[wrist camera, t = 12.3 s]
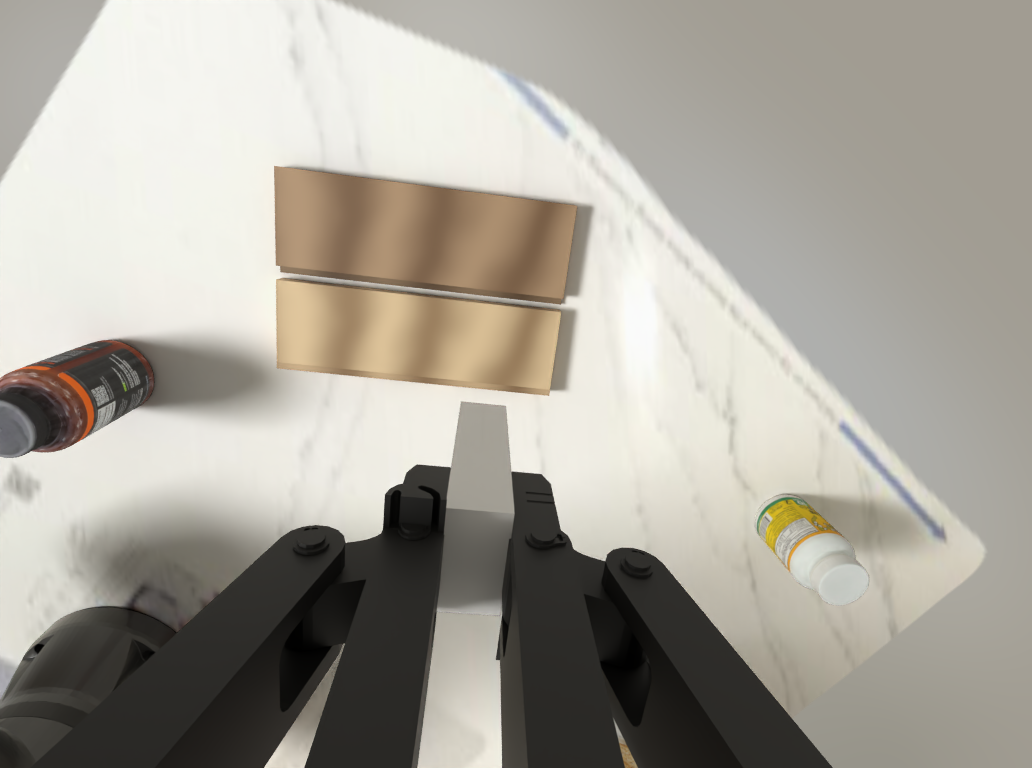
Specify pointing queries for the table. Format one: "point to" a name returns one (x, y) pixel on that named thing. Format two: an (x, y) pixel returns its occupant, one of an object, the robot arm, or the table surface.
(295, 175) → the laid board
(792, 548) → the supplement bottle
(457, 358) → the plank
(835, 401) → the table surface
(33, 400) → the supplement bottle
